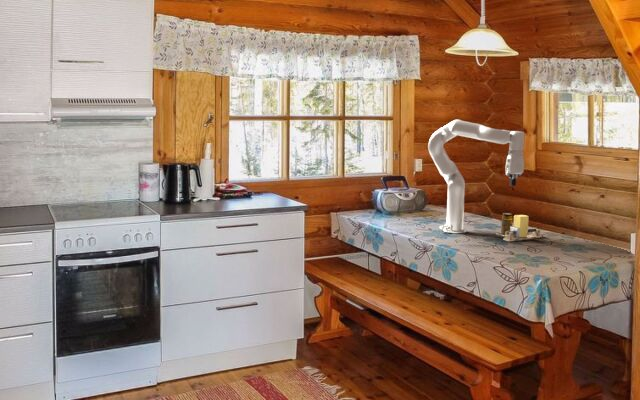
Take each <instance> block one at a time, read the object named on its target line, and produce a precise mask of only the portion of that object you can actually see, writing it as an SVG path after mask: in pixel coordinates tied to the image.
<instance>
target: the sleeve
mask: <svg viewBox="0 0 640 400" xmlns="http://www.w3.org/2000/svg"><path fill="white" fill-rule="evenodd" d="M529 220H530V219H529V215H525V214H515V215H514V216H513V223H512V226H515V227H519V228H520V237H525V236H528V235H529V234H528V233H529V232H528V229H529Z"/></svg>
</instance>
